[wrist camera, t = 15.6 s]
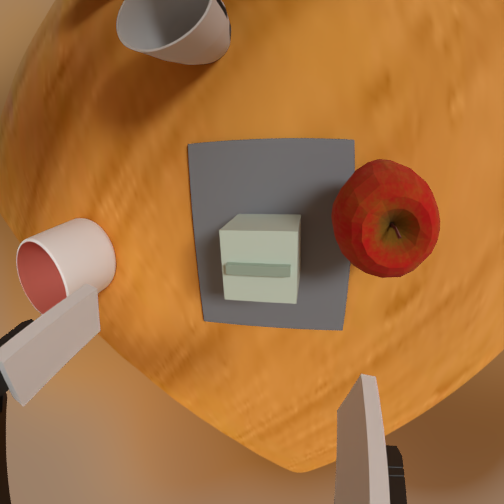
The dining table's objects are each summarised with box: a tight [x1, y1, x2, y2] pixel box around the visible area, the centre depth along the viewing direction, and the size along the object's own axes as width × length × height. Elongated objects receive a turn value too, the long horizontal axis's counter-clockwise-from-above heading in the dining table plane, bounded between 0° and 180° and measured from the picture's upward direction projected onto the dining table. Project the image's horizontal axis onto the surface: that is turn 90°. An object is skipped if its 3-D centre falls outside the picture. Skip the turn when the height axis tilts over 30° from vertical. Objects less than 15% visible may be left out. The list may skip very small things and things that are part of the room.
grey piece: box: [188, 138, 355, 330], centre depth 27 cm, size 20×16×5 cm
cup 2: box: [116, 0, 231, 65], centre depth 19 cm, size 8×8×10 cm
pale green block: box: [219, 214, 301, 304], centre depth 26 cm, size 6×6×7 cm
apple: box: [331, 159, 440, 278], centre depth 21 cm, size 9×8×11 cm
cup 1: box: [16, 218, 116, 315], centre depth 30 cm, size 10×10×10 cm
